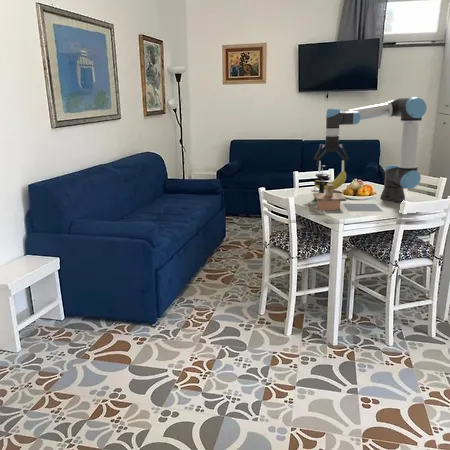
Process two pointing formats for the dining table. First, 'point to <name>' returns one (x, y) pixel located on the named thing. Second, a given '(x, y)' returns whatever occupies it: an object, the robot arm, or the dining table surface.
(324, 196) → the lid
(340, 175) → the banana
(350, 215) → the dining table surface
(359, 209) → the mat
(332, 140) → the robot arm
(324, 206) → the bowl
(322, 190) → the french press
